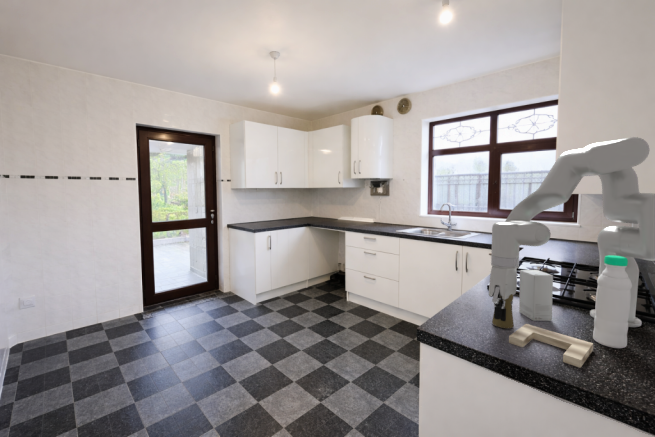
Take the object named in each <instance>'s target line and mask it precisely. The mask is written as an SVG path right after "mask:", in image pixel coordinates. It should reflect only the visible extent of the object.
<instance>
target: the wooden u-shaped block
mask: <svg viewBox="0 0 655 437" xmlns="http://www.w3.org/2000/svg"><path fill="white" fill-rule="evenodd" d="M508 336H509V337H508V343H509V344H511V345H514V346H517V347H519V348H522V349H523V348H524V347H525V346H527V344H529V343H530V342H531V341H532V340H536V341H539V342H541V343H545V344H548V345H550V346H551V345H552V346H554V347H556V348H560V349H563V350H566V351H565V352H564V353H563V354H562V356H563V357H562V362H563V363H565V364H568V365H571V366H574V367H577V368H582V366H583V365H584V364H585V362H586V361H587V360H588V358H589V357H590V356H591V354H592V352H594V343H593V342H590V341H587V340H584V339H579V338H576V337H573V336H570V335H566V334H564V333H558V332H555V331H553V330H549V329H545V328H542V327H539V326H535V325H532V324H529V323H524V324H523V325H522V326H521V327H519V328H518V329H517V330H515V331H514V332H513V333H511V334H509V335H508Z"/></svg>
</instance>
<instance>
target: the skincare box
mask: <svg viewBox="0 0 655 437" xmlns="http://www.w3.org/2000/svg"><path fill="white" fill-rule="evenodd" d="M553 287H554V275H553V274H549V273H547V272H545V271H541V270H538V269H523V270H522V269H521V270H519V300H518V301H519V304H518V305H519V307H518V308H519V309H518V310H519V311H518V312H519V313H520V314H521V315H523V316H525V317H527V318H528V319H529V320H531V321H532V322H533V321H535V322H538V321H539V322H551V321H553V293H554V292H553V290H554V288H553Z"/></svg>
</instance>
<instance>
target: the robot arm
mask: <svg viewBox="0 0 655 437" xmlns="http://www.w3.org/2000/svg"><path fill="white" fill-rule="evenodd" d="M649 154H650V145H649V143H648V142H647V141H646V140H645V139H644V138H641V137H638V136H637V137H636V136H632V137H631V136H630V137H623V138H619V139H618V138H617V139H611V140H605V141H599V142H594V143H591V144H587V145H586V146H585V147H582V148H577V149H571V150H570V149H569V150H567V151H564V152H563V153H561V154H560V155H559V156H558V158H557V159H556V160H555V162H554V163H553V165H552V167H551V168H550V170H549V172H547V175H546V176H545V178H544V180H543V181H542V182H541V183H540V185H539V187H538V188H537V189H536V190H535V191H534V192H532V193H530V194H529V195H527V197H525V198H524V199H523V200H521V201H520V202H519V203H518V204H516V206H514V207H513V209H512V210H511V211H510V213H509V215H508V216H507V218H506V220H505V221H501V222H500V221H499V222H495V223H493V224H492V227H491V255H490V256H491V257H490V259H491V260H490V261H491V262H490V264H491V268H490V275H489V283H488V284H489V285H488V286H489V287H488V295H489V296H488V297H491V298H492V300H491V302H492V303H493V307H494V308H493V315H494V318H495V319H500V320H501V321H506V309H505V301H506V299H508V298H509V296H510V295H511V294H513V296H514V295H516V293H517V289H518V288H517V287H518V276H517V275H518V272H517V269H519V266H520V246H525V247H528V246H529V247H539V246H543V245H545V244H547V243H548V242H549V241H550V239H551V235H552V234H551V230H550V229H549V227H548V226H547V225H546V224H544V223H541V222H537V221H532V219H533V218H535V217H536V216H537V215H538V214H541V213H542V212H544V211H546V210H550V209H551V208H555V207H558V206H560V205H562V204H565V203H567V202H568V201H569V199H570V198H571V196H572V195H573V193H574V191H575V189H577V186H578V185H579V184H580V182H581V180H582V179H583V178H584V177H592V176H593V177H594V176H598V177H599V179H600V181H601V182H600V183H601V190H602V191H601V195H602V196H601V197H602V214H603V216H604V218H605V219H606V220H608V221H610V222H615V223H622V224H636V225H638V227H635V226H626V225H611V226H606V227H605V228H602V229H601V230H600V231H599V233H598V234H597V238H596V239H597V240H596V242H597V246H598V253H599V268H598V277H599V276H600V275H601V274H602V272H603V270H605V268H606V265H605V263H604V258H605V256H608V255H614V256H622V257H625V258H627V259H628V264H627V267H626V268H625V272H626V273H627V275H628V278H629V279H630V281H631V283H632V287H631V289H630V294H631V299H630V311H629V317H628V328H638V327H641V326H642V320H641V319H640V318H638V317H636V309H637V299H638V289H639V288H638V287H639V276H640V269H639V265H638V263H637V261H636V259H640V260H645V261H650V262H651V261H652V262H655V193H652V192H640V190H639V189H640V188H639V179H638V178H639V177H638V174H637V171H635V170H634V167H637V166H639V165H641V164H642V163H643V162H645V161H646V160H647V158H648V156H649ZM499 296H502V298H499ZM499 300H502V303H501V301H499ZM513 301H514V299H513V300H512V302H511V306H512V307H513V303H514V302H513ZM589 315H590V316H591V318H593V319H595V315H596V312H595V309H591V310H589Z"/></svg>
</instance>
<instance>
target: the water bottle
mask: <svg viewBox="0 0 655 437" xmlns="http://www.w3.org/2000/svg"><path fill="white" fill-rule="evenodd" d="M604 263H605V265H606V268H605V270H603V272H602V274H601V275H600V276H599V275H598V277H597V280H596V283H597V288H596V294H595V312H596V315H595V318H593V319H594V320H593V323H594V324H593V325H594V328H593V332H592V338H593V340H594V341H595V342H597V344H600V345H602V346H604V347H608V348H614V349H623V348H626V347H627V345H628V331H629V327H628V317H629V311H630V299H631V294H630V289H631V287H632V283H631V281H630V279H629V278H628V275H627V273H626V272H625V268H626V267H627V264H628V259H627V258H625V257H622V256H614V255H608V256H605V258H604Z"/></svg>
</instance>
